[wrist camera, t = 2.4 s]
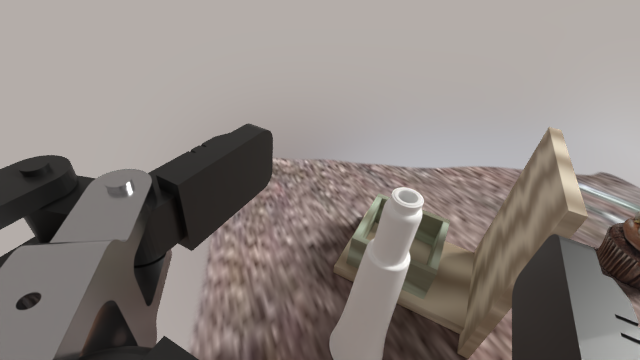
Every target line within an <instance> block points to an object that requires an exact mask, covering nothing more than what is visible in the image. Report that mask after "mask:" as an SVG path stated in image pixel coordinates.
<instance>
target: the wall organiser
mask: <svg viewBox="0 0 640 360" xmlns="http://www.w3.org/2000/svg"><path fill="white" fill-rule="evenodd" d="M389 198H390V197H387V196H384V195H382V194H378V195H377V197H376V199H375V200H374V202H373V204H372V205H371V207H370V209H369V210H368V211H367V213H366V214H365V216H364V217H363V219H362V221H361V222H360V224H359V226H358V227H357V229H356V231H355V232H354V234H353V236H352V237H351V239H350V241H349V242H348V244H347V246H346V247H345V249H344V250H343V252H342V254H341V255H340V257H339V259H338V260H337V262H336V264H335V265H334V270H333V273H335V274H338V275H340V276H342V277H344V278H346V279H348V280H350V281H352V282H354V280H355V277H356V274H357V271H358V269H359V266H360V263H361V260H362V258H363V255H364V252H365V250H366V247H367V245H368V243H369V242H370V241H371V240H372V239H374V238H375V235H376V232H377V228H378V225H379V221H380V218H381V214H382V211H383V208H384V205H385V203H386V201H387V200H388V199H389ZM422 213H423V215H422V219H421V222H420V224H419V227H418V229H417V231H416V234H415V236H414V239H413V241H412V244H411V246H410V249H409V253H410V264H409V267H408V270H407V273H406V277H405V280H404V283H403V286H402V289H401V292H400V294H399V297H398V300H397V304H399V305H401V306H403V307H405V308H407V309H409V310H411V311H413V312H415V313H417V314H419V315H421V316H423V317H425V318H427V319H429V320H431V321H433V322H435V323H438V324H440V325H442V326H444V327H446V328H448V329H450V330H452V331H454V332H456V333H458V334H460V337H459V344H458V351H457V354H459V355H461V356H463V357H465V358H467V359H469V357H470V356H471V355H472V354H473V353H474V351H475V350H476V349H477V348H478V347H479V346H480V344H481V343H482V342H483V341H484V340H485V338H486V337H487V336H488V335H489V334H490V333H491V331H492V330H493V329H494V328H495V327H496V325H497V324H498V323H499V322H500V321H501V319H502V318H503V317H504V316H505V315H506V314H507V312H508V311H509V310H510V309H511V308H512V292H513V287H514V284H515V281H516V279H517V277H518V275H519V274H520V272H521V271H522V270H523V268H524V267H525V266H526V265H527V263H528V262H529V261H530V259H531V258H532V257H533V256H534V254H535V253H536V252H537V251H538V249H539V248H540V247H541V245H542V244H543V243H544V242H545V240H546V239H547V238H548V237H549V236H551V235H553V234H557V235H560V236H562V237H565V238H568V239H570V238H571V237H572V235H573V234H574V233H575V232H576V231H577V229H578V228H579V227H580V226H581V225H582V224H583V222H584V221H585V220H586V219H587V218H588V215H587V212H586V208H585V205H584V202H583V199H582V195H581V192H580V189H579V186H578V182H577V179H576V176H575V173H574V169H573V167H572V163H571V160H570V157H569V153H568V150H567V147H566V144H565V141H564V137H563V134H562V131H561V130H558V129H554V128H550V127H549V128H548V130H547V131H546V133H545V135H544V136H543V138H542V140H541V141H540V143H539V145H538V147H537V148H536V150H535V151H534V153H533V155H532V156H531V158H530V160H529V161H528V163H527V165H526V166H525V168H524V170H523V171H522V173H521V175H520V176H519V178H518V180H517V181H516V183H515V185H514V186H513V188H512V190H511V191H510V193H509V195H508V197H507V198H506V200H505V202H504V203H503V205H502V207H501V208H500V210H499V212H498V213H497V215H496V217H495V218H494V220H493V222H492V223H491V225H490V227H489V228H488V230H487V232H486V233H485V235H484V237H483V238H482V240H481V242H480V243H479V245H478V247H477V248H476V250H475V252H474V253H473V252H470V251H468V250H465V249H463V248H460V247H458V246H455V245H453V244H450V243H448V242H445V238H446V234H447V230H448V226H449V222H450V220H448V219H445V218H442V217H440V216H437V215H435V214H432V213H429V212H427V211H424V210H422Z"/></svg>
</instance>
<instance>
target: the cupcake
mask: <svg viewBox="0 0 640 360" xmlns="http://www.w3.org/2000/svg"><path fill="white" fill-rule="evenodd" d="M596 254H597V257H598V261H599V263H600V264H601V265H602V267H603V268H604V269H605V270H606V271H607V272H608V273H610V274H611V275H612V276H614V277H615V278H617V279H618V280H619V281H621V282H623V283H626V284H628V285H630V286H632V287H635V288H638V289H640V211H639V212H638V213H636V215H635V218H630V219H628V220H626V221H625V223H618V224H614V225H612V226H611V227H609V228H608V230H607V233H606V236H605V239H604V241H603V243H602V244H601V246H600V248H599V249H598V250H597V252H596Z"/></svg>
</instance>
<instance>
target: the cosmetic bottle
mask: <svg viewBox="0 0 640 360" xmlns="http://www.w3.org/2000/svg"><path fill="white" fill-rule="evenodd" d="M423 203H424V200H423V197H422V196H421V195H420V194H419V193H418V192H417V191H415V190H413V189H410V188H405V187H400V188H396V189H394V190H393V192H392V194H391V198H389V199H388V200H387V201H386V203H385V205H384V208H383V211H382V214H381V218H380V221H379V225H378V228H377V232H376V235H375V238H374V239H372V240H371V241H370V242H369V243H368V245H367V247H366V250H365V252H364V255H363V258H362V260H361V263H360V266H359V269H358V271H357V274H356V277H355V280H354V283H353V286H352V289H351V292H350V295H349V297H348V300H347V303H346V306H345V308H344V311H343V313H342V315H341V318H340V320H339V321H338V323H337V325H336V327H335V328H334V330H333V331H332V333H331V336H330V341H329V347H330V352H331V355H332V358H333V359H334V360H382V358H383V350H384V343H385V338H386V334H387V330H388V327H389V323H390V321H391V318H392V315H393V312H394V309H395V306H396V303H397V300H398V297H399V294H400V292H401V289H402V286H403V283H404V280H405V277H406V273H407V270H408V267H409V264H410V253H409V249H410V246H411V244H412V241H413V239H414V236H415V234H416V231H417V229H418V227H419V224H420V222H421V219H422V215H423V213H422V209H421V208H422V205H423Z"/></svg>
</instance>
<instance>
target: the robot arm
mask: <svg viewBox="0 0 640 360" xmlns="http://www.w3.org/2000/svg"><path fill="white" fill-rule="evenodd" d="M272 150H273V137H272V133H271V132H270V131H269V130H266V129H263V128H260V127H258V126H254V125H252V124H246V125H244V126H242V127H240V128H238V129H237V130H235V131H233V132H231V133H228V134H224V135H220V136H216V137H214V138H212V139H210V140H208V141H206V142H204V143H203V144H202V145H201V146H197V147H195V148H193V149H192V150H191V152H189V151H188V152H186V153H184V154H182V155H181V156H179V157H177V158H175V159H173V160H171V161H170V162H168V163H166V164H164V165H162V166H160V167H159V168H157V169H155V170H153V171H151V172H149V173H146V172H144V171H141V170H136V169H123V170H117V171H112V172H110V173H106V174H104V175H102V176H100V177H98V178H96V179H95V178H89V177H83V176H77V175H76V174H75V172H74V170H73V167H72V165H71V163H70V161H69V160H68V159H67V158H65V157H62V156H55V155H47V156H38V157H33V158H29V159H25V160H22V161H20V162H17V163H15V164H12V165H10V166H7V167H5V168H2V169H0V229H2V228H4V227H6V226H8V225H10V224H12V223H14V222H15V221H17V220H19V219H21V218H24V219H25V220H26V222H27V224H28V225H29V227H30V228H31V230H32V231H33V233H34V235H35V237H34V238H32V239H30V240H28V241H27V242H25V243H23V244H22V245H20V246H18V247H17V248H15V249H13V250H11V251H10V252H8V253H6V254H5V255H3V256H1V257H0V360H198V359H197V358H195V357H194V356H193V355H191V354H190V353H188V352H187V351H185V350H184V349H183V348H181V347H180V346H178V345H177V344H175V343H174V342H172V341H171V340H170V339H168V338H167V337H165V336H164V337H163V338H162V339H161V340H160V341H159V342H158V343H157V344H156V341H157V328H156V317H157V311H158V307H159V304H160V300H161V296H162V292H163V288H164V284H165V280H166V276H167V272H168V268H169V265H170V261H171V256H172V251H171V248H172V247H174V246H175V245H176V244H177V243H179V244H180V245H182V246H184V247H186V248H188V249H189V250H191V251H192V250H194V249H195V248H196V247H197V246H198V245H199V244H200V243H202V242H203V241H204V240H205V239H206V238H208V237H209V236H210V235H211V234H212V233H213V232H214V231H216V230H217V229H218V228H219V227H220V226H221V225H223V224H224V223H225V222H226V221H227V220H228V219H229V218H231V217H232V216H233V215H234V214H235V213H236V212H238V211H239V210H240V209H241V208H242V207H243V206H245V205H246V204H247V203H248V202H249V201H250V200H251V199H253V198H254V197H255V196H256V195H257V194H258V193H260V192H261V191H262V190H263V189H264V188H265V187H266V186H267V184H268V183H269V181H270V178H271V175H272V153H273V151H272ZM638 324H639V323H638V320H637V317H636V314H635V312H634V309H633V306H632V303H631V301H630V300H629V298H628V297H627V296H626V295H625V293H624V292H623V291H622V290H621V288H620V287H619V286H618V285H617V283H616V282H615V281H614V279H613V278H611V277H608V276H605V275H603V274H602V271H601V267H600V264H599V261H598V258H597V254H596V252H595V250H594V248H592V247H590V246H588V245H585V244H582V243H579V242H576V241H574V240H571V239H568V238H565V237H562V236H560V235H557V234H553V235H551V236H549V237H548V238H547V239H546V240H545V242H544V243H543V244H542V245H541V247H540V248H539V249H538V251H537V252H536V253H535V254H534V256H533V257H532V258H531V259H530V261H529V262H528V263H527V265H526V266H525V267H524V268H523V270H522V271H521V272H520V274H519V275H518V277H517V279H516V281H515V284H514V287H513V292H512V360H640V328H639V327H638Z"/></svg>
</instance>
